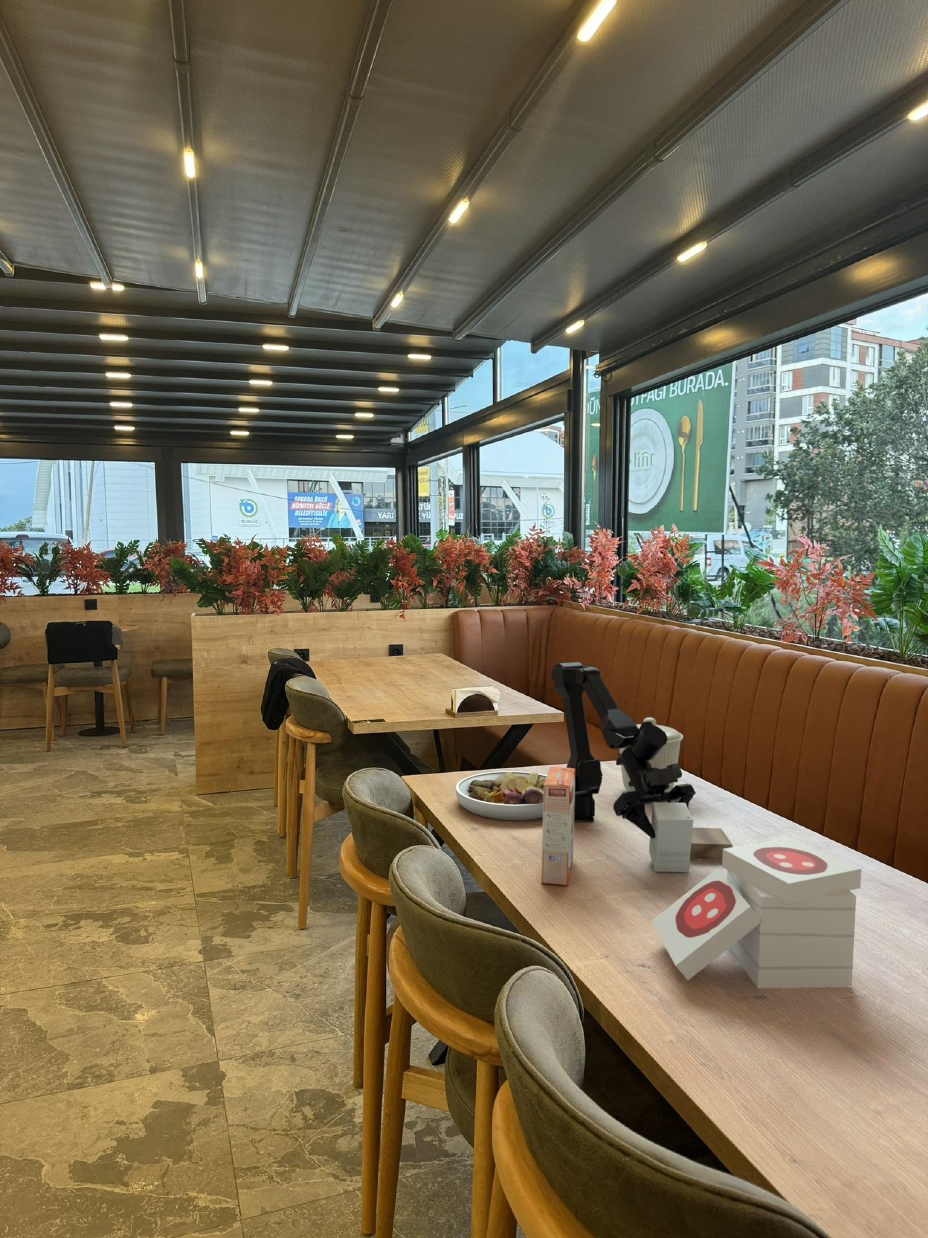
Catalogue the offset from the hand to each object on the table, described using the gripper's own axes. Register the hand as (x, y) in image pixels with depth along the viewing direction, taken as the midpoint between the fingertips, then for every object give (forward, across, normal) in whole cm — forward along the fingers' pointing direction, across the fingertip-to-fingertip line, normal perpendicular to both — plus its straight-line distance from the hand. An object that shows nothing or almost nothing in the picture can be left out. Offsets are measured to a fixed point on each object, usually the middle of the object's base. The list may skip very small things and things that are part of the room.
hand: (672, 834), depth 172 cm
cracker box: (-1, -23, +12) cm, 26 cm away
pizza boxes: (+32, -13, -19) cm, 40 cm away
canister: (-28, +29, +36) cm, 54 cm away
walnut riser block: (+2, +13, +9) cm, 16 cm away
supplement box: (+4, 0, +6) cm, 7 cm away
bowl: (-32, -10, +42) cm, 53 cm away
